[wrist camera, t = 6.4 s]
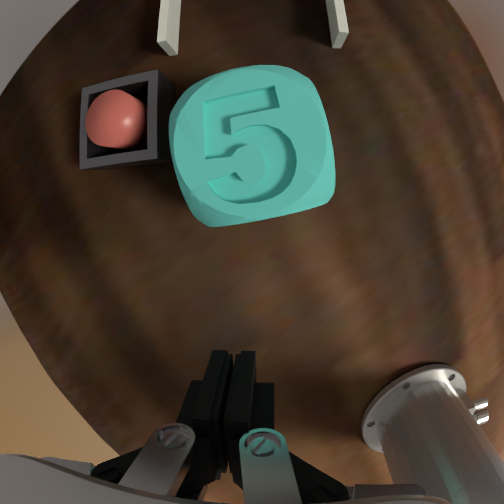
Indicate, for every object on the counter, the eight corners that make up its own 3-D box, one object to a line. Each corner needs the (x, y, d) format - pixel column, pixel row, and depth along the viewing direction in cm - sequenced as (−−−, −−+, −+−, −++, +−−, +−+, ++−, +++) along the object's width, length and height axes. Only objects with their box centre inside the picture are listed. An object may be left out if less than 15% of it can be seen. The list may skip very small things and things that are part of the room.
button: (154, 96, 20) (135, 84, 17) (154, 146, 21) (134, 141, 17) (109, 105, 20) (86, 96, 17) (109, 153, 21) (84, 150, 18)
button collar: (175, 84, 21) (158, 69, 17) (175, 161, 22) (157, 158, 19) (105, 98, 21) (82, 88, 18) (105, 170, 23) (79, 169, 19)
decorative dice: (298, 94, 21) (309, 53, 13) (321, 196, 22) (345, 204, 14) (195, 117, 21) (157, 89, 14) (216, 217, 23) (188, 235, 15)
